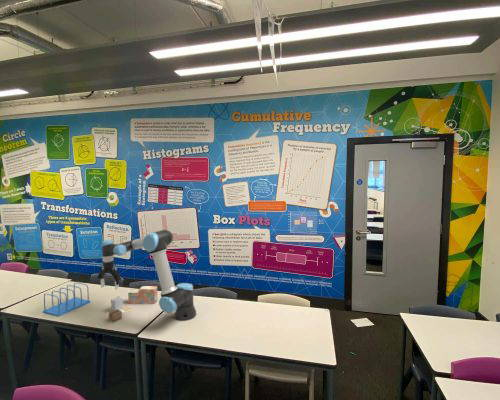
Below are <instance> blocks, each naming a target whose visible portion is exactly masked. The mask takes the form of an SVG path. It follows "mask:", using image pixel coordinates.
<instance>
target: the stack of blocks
mask: <svg viewBox="0 0 500 400" xmlns="http://www.w3.org/2000/svg"><path fill="white" fill-rule="evenodd" d="M127 293H128V294H127V297H128V298H127V299H128V304H130V305H132V304H133V305H155V304H156V303H157V302H158V286H156V285H155V286H153V285H150V286H149V285H145V286H144V285H142V286H141V287H140V288H139V289H131V290H130V291H128V292H127Z"/></svg>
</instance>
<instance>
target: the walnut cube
mask: <svg viewBox="0 0 500 400" xmlns="http://www.w3.org/2000/svg"><path fill="white" fill-rule="evenodd" d="M122 319H123V312H122V311H120V310H118V309H117V310H114V311H113V310H111V311H109V312H108V321H111V322H112V323H116V322H118V321H121V320H122Z"/></svg>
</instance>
